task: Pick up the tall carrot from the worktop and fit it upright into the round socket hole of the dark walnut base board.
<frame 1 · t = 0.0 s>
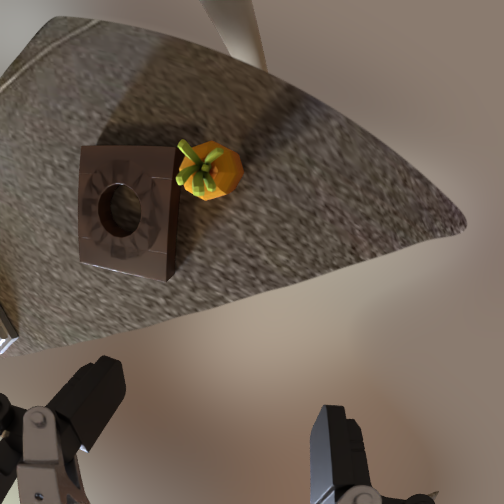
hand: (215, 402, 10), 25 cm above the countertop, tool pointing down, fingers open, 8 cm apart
carrot: (232, 169, 32), on the countertop
socket board: (130, 207, 34), on the countertop
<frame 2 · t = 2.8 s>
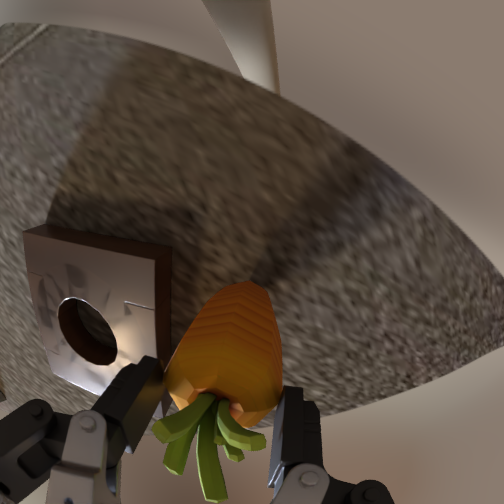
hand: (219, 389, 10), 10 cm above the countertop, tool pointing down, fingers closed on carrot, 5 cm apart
carrot: (250, 286, 20), on the countertop, touching gripper
socket board: (103, 317, 23), on the countertop
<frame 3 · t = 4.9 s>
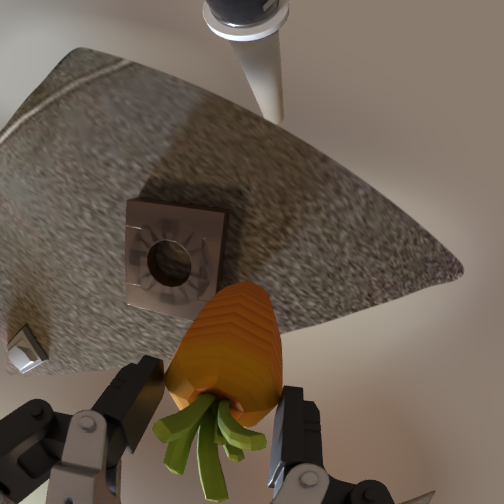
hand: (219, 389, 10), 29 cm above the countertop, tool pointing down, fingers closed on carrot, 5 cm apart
carrot: (251, 286, 20), point 18 cm above the countertop, touching gripper
soap mold: (25, 350, 54), on the countertop
socket board: (176, 257, 40), on the countertop
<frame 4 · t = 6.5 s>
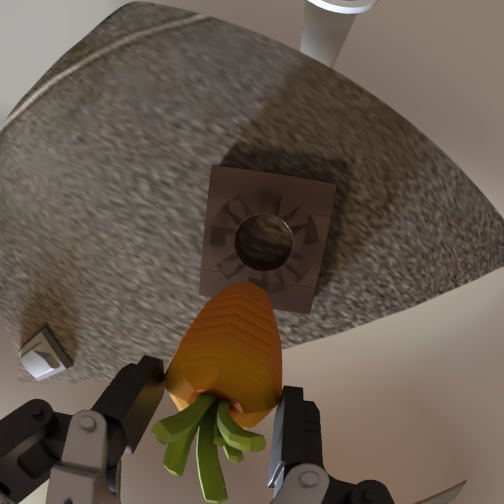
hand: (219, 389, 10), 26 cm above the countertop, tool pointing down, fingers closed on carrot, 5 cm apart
carrot: (250, 286, 20), point 15 cm above the countertop, touching gripper
soap mold: (43, 355, 49), on the countertop
socket board: (265, 237, 35), on the countertop
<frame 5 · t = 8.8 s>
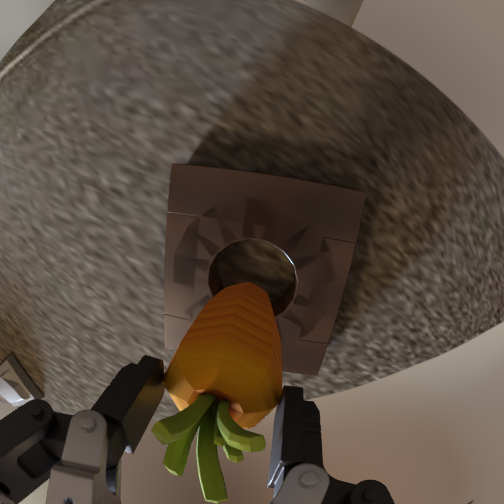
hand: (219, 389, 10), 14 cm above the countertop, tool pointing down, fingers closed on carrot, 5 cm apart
carrot: (250, 286, 20), point 4 cm above the countertop, touching gripper
soap mold: (15, 382, 38), on the countertop
socket board: (256, 269, 24), on the countertop
when the fingers open (10 cm above the countertop, at t = 10.4 s): carrot stays where it is, resting in socket board.
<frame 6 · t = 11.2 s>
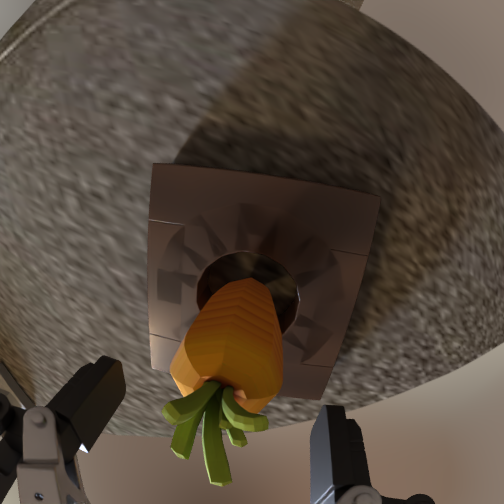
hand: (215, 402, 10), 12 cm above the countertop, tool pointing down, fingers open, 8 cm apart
carrot: (252, 283, 21), resting in socket board
soap mold: (7, 390, 35), on the countertop
socket board: (252, 283, 21), on the countertop
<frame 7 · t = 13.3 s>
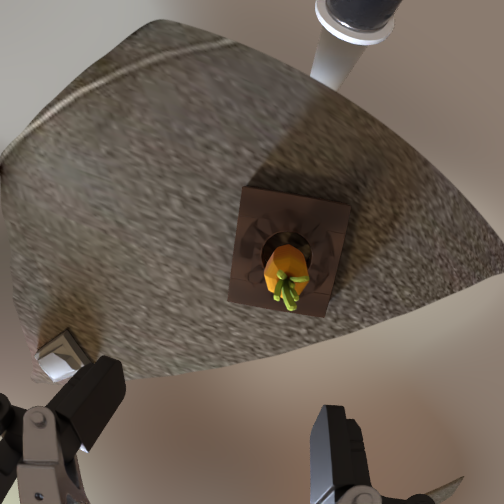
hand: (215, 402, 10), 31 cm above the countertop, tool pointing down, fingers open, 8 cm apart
carrot: (286, 250, 40), resting in socket board
soap mold: (62, 357, 54), on the countertop
socket board: (286, 250, 40), on the countertop
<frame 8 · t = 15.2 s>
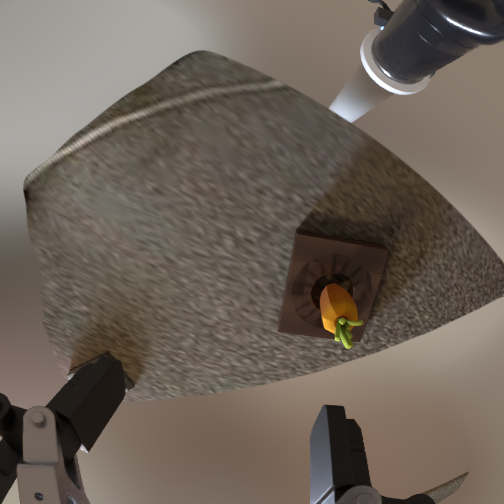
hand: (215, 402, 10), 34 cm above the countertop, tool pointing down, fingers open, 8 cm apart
carrot: (329, 285, 44), resting in socket board
soap mold: (98, 378, 58), on the countertop
socket board: (330, 285, 44), on the countertop
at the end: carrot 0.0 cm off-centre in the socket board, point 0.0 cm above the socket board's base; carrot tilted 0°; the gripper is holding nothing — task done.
